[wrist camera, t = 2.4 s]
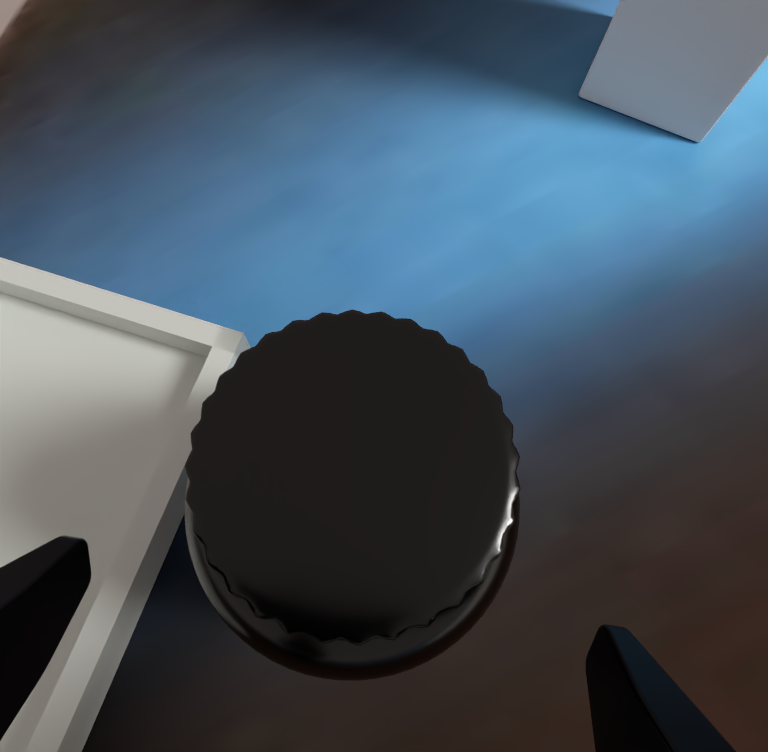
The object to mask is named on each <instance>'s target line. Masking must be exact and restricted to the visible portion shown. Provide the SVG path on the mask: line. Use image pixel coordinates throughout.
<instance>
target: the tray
mask: <svg viewBox="0 0 768 752" xmlns="http://www.w3.org/2000/svg"><path fill="white" fill-rule="evenodd" d="M247 349H250V346H249V344H248V342H247V339H246V337H245V335H244V333H242V332H239V331H236V330H232V329H229V328H226V327H223V326H219V325H216V324H213V323H210V322H207V321H203V320H200V319H197V318H194V317H190V316H187V315H184V314H181V313H178V312H174V311H171V310H168V309H165V308H161V307H158V306H155V305H152V304H149V303H145V302H142V301H139V300H136V299H133V298H129V297H126V296H123V295H120V294H116V293H113V292H110V291H107V290H104V289H100V288H97V287H94V286H91V285H87V284H84V283H81V282H78V281H75V280H71V279H68V278H65V277H62V276H58V275H55V274H52V273H49V272H46V271H42V270H39V269H36V268H33V267H29V266H26V265H23V264H20V263H17V262H13V261H10V260H7V259H4V258H0V567H2V566H4V565H6V564H8V563H10V562H12V561H13V560H15V559H17V558H19V557H21V556H23V555H25V554H27V553H28V552H30V551H32V550H34V549H36V548H38V547H40V546H41V545H43V544H45V543H47V542H49V541H51V540H53V539H55V538H57V537H59V536H63V535H66V536H72V537H78V538H83V539H85V540H86V542H87V544H88V550H89V557H90V565H91V580H90V583H89V586H88V588H87V590H86V592H85V594H84V596H83V598H82V600H81V602H80V604H79V606H78V608H77V610H76V612H75V614H74V616H73V618H72V620H71V622H70V623H69V625H68V627H67V629H66V631H65V633H64V635H63V637H62V639H61V641H60V643H59V645H58V647H57V649H56V651H55V653H54V655H53V657H52V659H51V660H50V662H49V664H48V666H47V668H46V670H45V671H44V673H43V675H42V676H41V678H40V680H39V681H38V683H37V684H36V686H35V688H34V689H33V691H32V692H31V694H30V695H29V697H28V699H27V700H26V702H25V703H24V705H23V706H22V708H21V709H20V711H19V713H18V714H17V716H16V717H15V719H14V720H13V722H12V723H11V725H10V727H9V728H8V730H7V731H6V733H5V734H4V736H3V737H2V739H1V741H0V752H82V750H83V748H84V745H85V743H86V741H87V738H88V736H89V734H90V731H91V729H92V727H93V724H94V722H95V720H96V717H97V715H98V713H99V710H100V708H101V706H102V704H103V701H104V699H105V697H106V694H107V692H108V690H109V687H110V685H111V683H112V680H113V678H114V676H115V673H116V671H117V669H118V666H119V664H120V662H121V659H122V657H123V655H124V652H125V650H126V648H127V646H128V643H129V641H130V639H131V636H132V634H133V632H134V629H135V627H136V625H137V622H138V620H139V618H140V615H141V613H142V611H143V608H144V606H145V604H146V601H147V599H148V597H149V595H150V592H151V590H152V588H153V585H154V583H155V581H156V578H157V576H158V574H159V571H160V569H161V567H162V564H163V562H164V560H165V557H166V555H167V553H168V550H169V548H170V546H171V543H172V541H173V539H174V537H175V534H176V532H177V530H178V527H179V525H180V523H181V520H182V518H183V516H184V513H185V495H186V487H187V480H188V476H187V473H186V469H185V464H186V461H187V459H188V456H189V455H190V453H191V451H192V445H191V432H192V430H193V428H194V427H195V426H196V425H197V424H198V422H199V421H200V419H201V409H202V403H203V402H204V401H205V400H206V398H207V397H208V396H210V395H211V394H212V393H213V392H214V391H215V388H216V384H217V381H218V378H219V376H220V375H221V374H223V373H224V372H225V371H227V370H229V369H231V368H232V367H233V366H234V364H235V362H236V360H237V358H238V357H239V355H240V353H241V352H243V351H245V350H247Z"/></svg>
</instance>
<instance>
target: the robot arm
mask: <svg viewBox="0 0 768 752" xmlns="http://www.w3.org/2000/svg"><path fill="white" fill-rule="evenodd" d="M90 580H91V565H90V557H89V550H88V544H87V542H86V540H85V539H83V538H78V537H72V536H66V535H63V536H59V537H57V538H55V539H53V540H51V541H49V542H47V543H45V544H43V545H41V546H40V547H38V548H36V549H34V550H32V551H30V552H28V553H27V554H25V555H23V556H21V557H19V558H17V559H15V560H13V561H12V562H10V563H8V564H6V565H4V566H2V567H0V741H1V739H2V737H3V736H4V734H5V733H6V731H7V730H8V728H9V727H10V725H11V723H12V722H13V720H14V719H15V717H16V716H17V714H18V713H19V711H20V709H21V708H22V706H23V705H24V703H25V702H26V700H27V699H28V697H29V695H30V694H31V692H32V691H33V689H34V688H35V686H36V684H37V683H38V681H39V680H40V678H41V676H42V675H43V673H44V671H45V670H46V668H47V666H48V664H49V662H50V660H51V659H52V657H53V655H54V653H55V651H56V649H57V647H58V645H59V643H60V641H61V639H62V637H63V635H64V633H65V631H66V629H67V627H68V625H69V623H70V622H71V620H72V618H73V616H74V614H75V612H76V610H77V608H78V606H79V604H80V602H81V600H82V598H83V596H84V594H85V592H86V590H87V588H88V586H89V583H90ZM586 677H587V685H588V693H589V701H590V709H591V718H592V726H593V734H594V742H595V750H596V752H736V751H735V750H734V749H733V748H732V746H731V745H730V744H729V743H728V742H727V741H726V740H725V739H724V737H723V736H722V735H721V734H720V733H719V732H718V731H717V730H716V728H715V727H714V726H713V725H712V724H711V723H710V722H709V720H708V719H707V718H706V717H705V716H704V715H703V714H702V713H701V711H700V710H699V709H698V708H697V707H696V706H695V705H694V703H693V702H692V701H691V700H690V699H689V698H688V697H687V696H686V694H685V693H684V692H683V691H682V690H681V689H680V688H679V687H678V685H677V684H676V683H675V682H674V681H673V680H672V679H671V677H670V676H669V675H668V674H667V673H666V672H665V671H664V670H663V668H662V667H661V666H660V665H659V664H658V663H657V662H656V660H655V659H654V658H653V657H652V656H651V655H650V654H649V653H648V651H647V650H646V649H645V648H644V647H643V646H642V645H641V644H640V642H639V641H638V640H637V639H636V638H635V637H634V636H633V634H632V633H631V632H630V631H629V630H627V629H626V628H624V627H619V626H613V625H606V624H604V625H601V626H600V627H599V629H598V631H597V633H596V635H595V638H594V640H593V642H592V645H591V647H590V649H589V652H588V654H587V658H586Z"/></svg>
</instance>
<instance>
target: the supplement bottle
mask: <svg viewBox="0 0 768 752" xmlns="http://www.w3.org/2000/svg"><path fill="white" fill-rule="evenodd" d="M512 438H513V425H512V423H511V422H510V420H509V419H508V418H507V417H506V416H505V414H504V413H503V407H502V401H501V396H500V395H499V394H498V393H497V392H496V391H494V390H493V389H492V388H491V387H490V386H489V385H488V382H487V378H486V376H485V373H484V371H483V370H481V369H480V368H478V367H477V366H475V365H474V364H472V363H470V361H469V359H468V357H467V356H466V354H465V352H464V351H463V349H461V348H459V347H457V346H454V345H451V344H448V343H447V341H446V340H445V339H444V337H443V336H442V335H441V334H440V333H439V332H438V331H434V330H428V329H423V328H422V327H420V326H419V325H418V324H417V323H416V322H415V321H413V320H412V319H404V318H403V319H395V318H393V317H391V316H390V315H388V314H386V313H383V312H375V313H370V314H365V313H362V312H359V311H356V310H349V311H346V312H343V313H340V314H338V315H337V314H331V313H320V314H318V315H316V316H315V317H313V318H311V319H310V320H296V321H292V322H291V323H290V324H288V325H287V326H286V327H285V328H284V329H283V330H281V331H278V332H272V333H268V334H266V335H265V336H264V337H263V338H262V339H261V340H260V341H259V343H258V344H257V345H256V346H255V347H252V348H250V349H247V350H245V351H243V352H241V353H240V355H239V357H238V358H237V360H236V362H235V364H234V366H233V367H232V368H231V369H229V370H227V371H225V372H224V373H223V374H221V375H220V376H219V378H218V381H217V384H216V388H215V391H214V392H213V393H212V394H211V395H210V396H208V397H207V398H206V400H205V401H204V402H203V403H202V409H201V419H200V421H199V422H198V424H197V425H196V426H195V427H194V428H193V430H192V432H191V445H192V451H191V453H190V455H189V456H188V459H187V461H186V464H185V469H186V473H187V476H188V480H187V487H186V495H185V527H186V536H187V542H188V548H189V552H190V556H191V559H192V563H193V566H194V569H195V572H196V574H197V577H198V579H199V582H200V584H201V586H202V588H203V590H204V592H205V594H206V596H207V598H208V599H209V601H210V602H211V604H212V605H213V607H214V609H215V610H216V612H217V613H218V614H219V616H220V617H221V618H222V619H223V620H224V622H225V623H226V624H227V625H228V627H229V628H230V629H231V630H232V631H233V632H234V633H235V634H236V635H237V636H239V637H240V638H241V639H242V640H243V641H244V642H245V643H247V644H248V645H249V646H250V647H252V648H253V649H254V650H255V651H257V652H258V653H260V654H262V655H263V656H265V657H267V658H268V659H270V660H271V661H273V662H275V663H278V664H280V665H282V666H284V667H286V668H288V669H291V670H294V671H297V672H300V673H303V674H306V675H310V676H314V677H319V678H324V679H333V680H368V679H377V678H381V677H386V676H391V675H395V674H398V673H401V672H404V671H407V670H410V669H412V668H415V667H417V666H419V665H421V664H423V663H425V662H428V661H429V660H431V659H433V658H434V657H436V656H438V655H439V654H441V653H443V652H444V651H445V650H447V649H448V648H449V647H451V646H452V645H453V644H455V643H456V642H457V641H458V640H460V639H461V638H462V637H463V636H464V635H465V634H466V633H467V632H468V631H469V630H470V629H471V628H472V627H473V626H474V625H475V624H476V623H477V621H478V620H479V619H480V618H481V617H482V616H483V614H484V613H485V611H486V610H487V609H488V607H489V606H490V604H491V603H492V601H493V600H494V598H495V596H496V594H497V593H498V591H499V589H500V587H501V585H502V583H503V581H504V579H505V576H506V574H507V572H508V569H509V566H510V563H511V560H512V557H513V554H514V549H515V545H516V541H517V535H518V527H519V513H520V501H519V491H520V485H519V480H518V477H517V474H516V470H517V467H518V463H519V458H520V456H519V453H518V451H517V449H516V448H515V446H514V444H513V442H512Z"/></svg>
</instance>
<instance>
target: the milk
mask: <svg viewBox="0 0 768 752" xmlns="http://www.w3.org/2000/svg"><path fill="white" fill-rule="evenodd" d="M767 57H768V0H620V2H619V5H618V7H617V9H616V11H615V14H614V16H613V18H612V20H611V22H610V25H609V27H608V29H607V31H606V34H605V36H604V38H603V40H602V42H601V45H600V47H599V49H598V51H597V54H596V56H595V58H594V60H593V62H592V65H591V67H590V69H589V71H588V74H587V76H586V78H585V80H584V83H583V85H582V87H581V89H580V92H579V97H581V98H584V99H586V100H589V101H591V102H594V103H597V104H599V105H602V106H604V107H607V108H610V109H612V110H615V111H617V112H620V113H623V114H625V115H628V116H630V117H633V118H636V119H638V120H641V121H643V122H646V123H649V124H651V125H654V126H656V127H659V128H662V129H664V130H667V131H669V132H672V133H674V134H677V135H680V136H682V137H685V138H687V139H690V140H693V141H695V142H701V141H702V140H703V139H704V138H705V137H706V135H707V134H708V133H709V131H710V130H711V129H712V128H713V126H714V125H715V124H716V122H717V121H718V120H719V119H720V117H721V116H722V115H723V113H724V112H725V111H726V110H727V108H728V107H729V106H730V105H731V103H732V102H733V101H734V99H735V98H736V97H737V96H738V94H739V93H740V92H741V90H742V89H743V88H744V87H745V85H746V84H747V83H748V82H749V80H750V79H751V78H752V76H753V75H754V74H755V73H756V71H757V70H758V69H759V67H760V66H761V65H762V64H763V62H764V61H765V60H766V58H767Z"/></svg>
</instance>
